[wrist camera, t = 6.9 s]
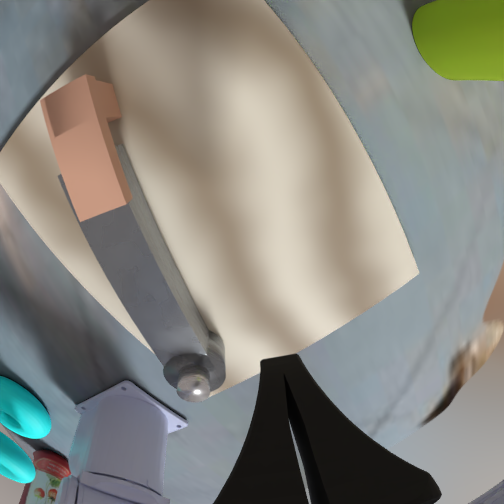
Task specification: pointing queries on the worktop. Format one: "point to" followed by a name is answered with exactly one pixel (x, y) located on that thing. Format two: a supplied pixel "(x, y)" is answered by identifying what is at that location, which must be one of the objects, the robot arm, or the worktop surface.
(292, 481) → the robot arm
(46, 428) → the donuts
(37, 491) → the liquor
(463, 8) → the soap dispenser
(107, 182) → the block
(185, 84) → the hinge board
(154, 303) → the link
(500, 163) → the worktop surface
